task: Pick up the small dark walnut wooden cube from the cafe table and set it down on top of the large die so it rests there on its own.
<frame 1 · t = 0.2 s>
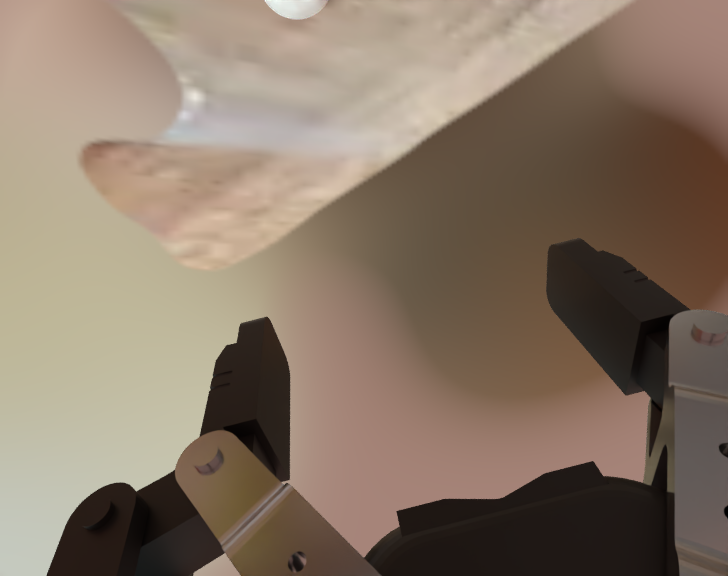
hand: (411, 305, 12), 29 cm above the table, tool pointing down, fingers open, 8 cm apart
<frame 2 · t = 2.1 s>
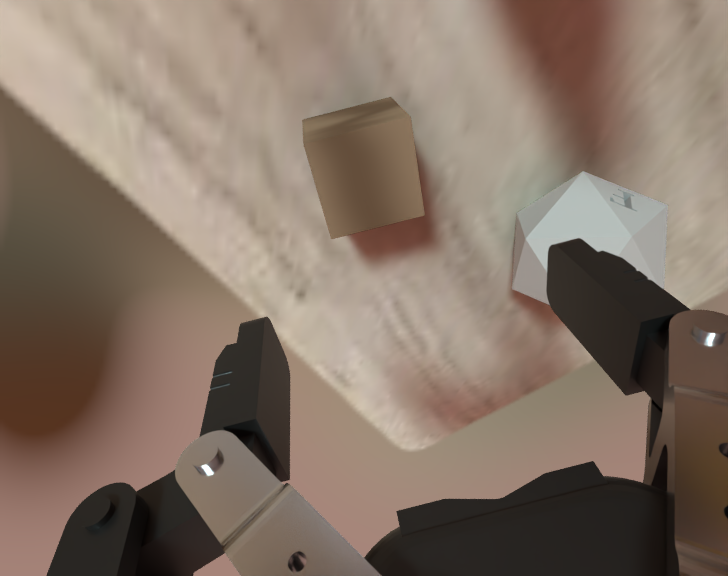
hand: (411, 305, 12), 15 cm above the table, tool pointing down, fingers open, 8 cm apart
die: (551, 222, 29), on the table
walnut cube: (356, 152, 25), on the table
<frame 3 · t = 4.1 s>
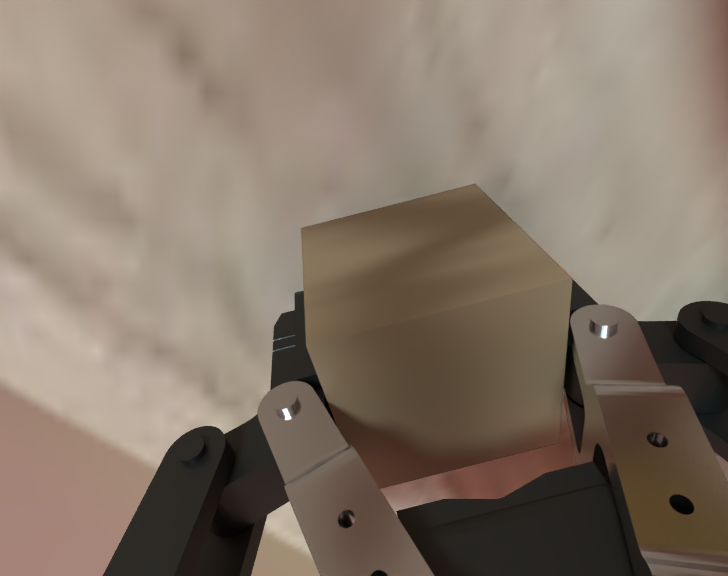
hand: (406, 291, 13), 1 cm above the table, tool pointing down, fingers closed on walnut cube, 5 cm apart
die: (707, 360, 18), on the table
walnut cube: (402, 279, 13), on the table, touching gripper
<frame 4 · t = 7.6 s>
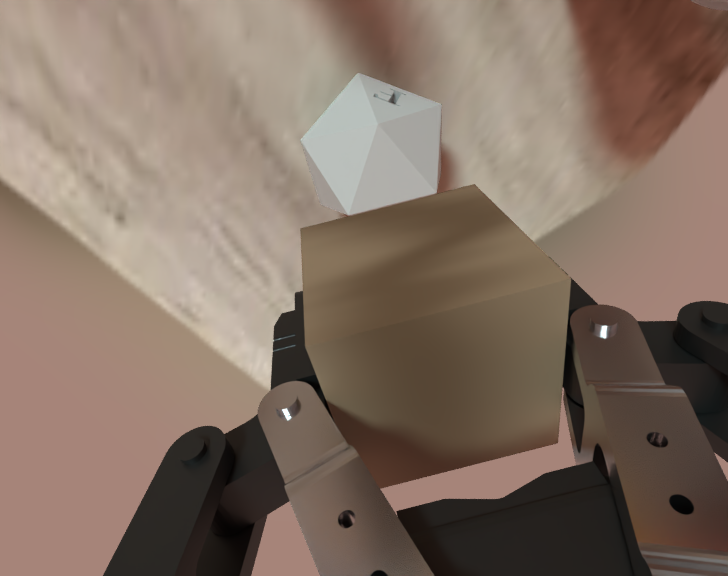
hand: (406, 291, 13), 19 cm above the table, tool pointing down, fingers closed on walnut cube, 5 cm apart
die: (366, 141, 30), on the table
walnut cube: (401, 279, 13), point 19 cm above the table, touching gripper
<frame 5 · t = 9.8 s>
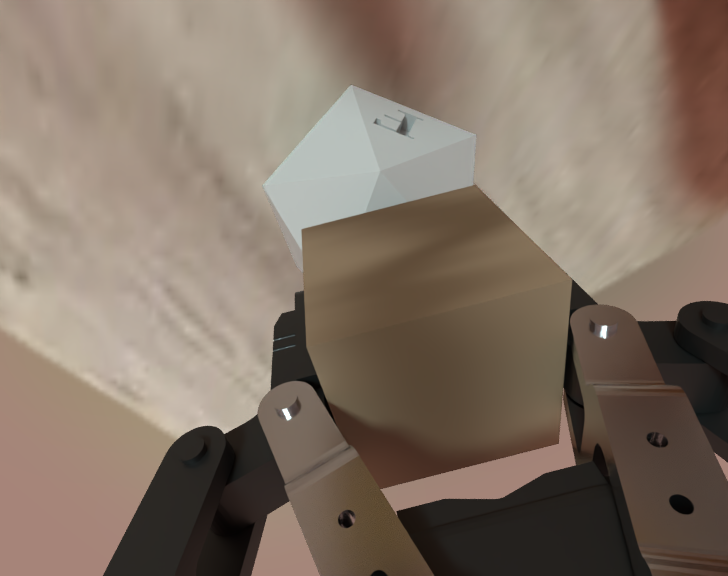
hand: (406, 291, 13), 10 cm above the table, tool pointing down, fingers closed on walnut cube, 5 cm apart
die: (363, 176, 21), on the table
walnut cube: (402, 279, 13), point 9 cm above the table, touching gripper
when the fingers open (9 cm above the table, at t = 11.2 s): walnut cube drops 1 cm, resting on die.
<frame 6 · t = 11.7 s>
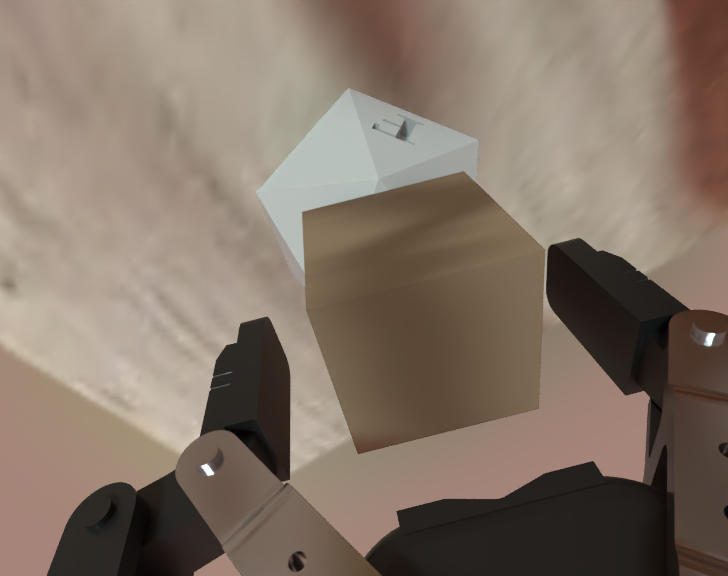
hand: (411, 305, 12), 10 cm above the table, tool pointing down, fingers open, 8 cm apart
die: (361, 181, 21), on the table, touching walnut cube
walnut cube: (396, 261, 14), point 8 cm above the table, touching die
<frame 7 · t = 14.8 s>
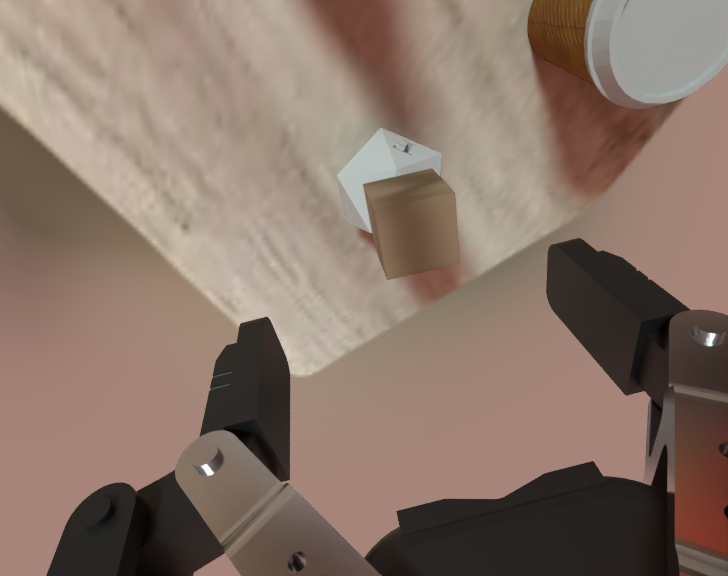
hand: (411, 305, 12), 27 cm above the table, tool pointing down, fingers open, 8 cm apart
die: (381, 174, 38), on the table, touching walnut cube
walnut cube: (402, 208, 31), point 8 cm above the table, touching die
disposable coffee cup: (564, 16, 33), on the table
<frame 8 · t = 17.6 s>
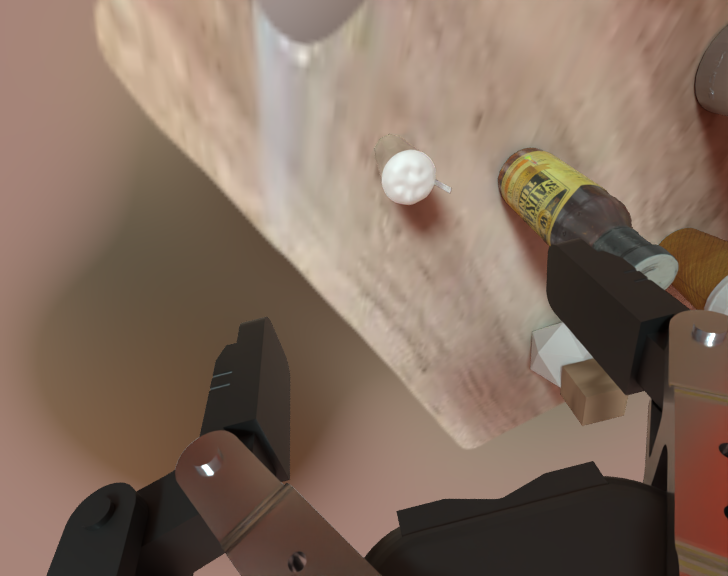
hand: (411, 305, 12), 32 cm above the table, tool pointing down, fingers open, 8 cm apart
sauce bottle: (521, 176, 46), on the table
milkshake: (393, 150, 42), on the table
die: (549, 334, 59), on the table, touching walnut cube
walnut cube: (581, 375, 53), point 8 cm above the table, touching die
disposable coffee cup: (675, 249, 54), on the table
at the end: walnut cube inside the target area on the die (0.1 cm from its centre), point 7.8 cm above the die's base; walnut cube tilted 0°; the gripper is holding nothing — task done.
